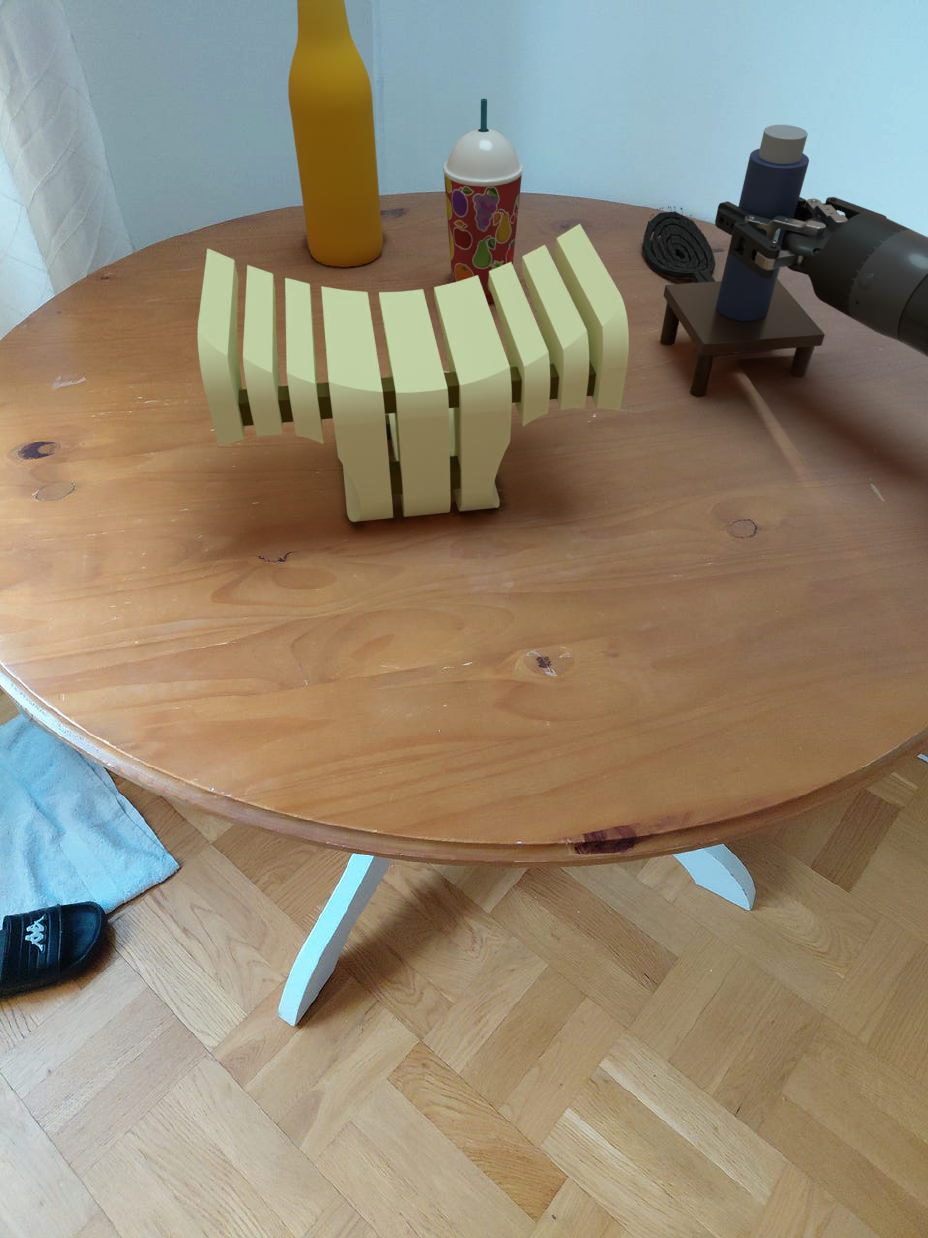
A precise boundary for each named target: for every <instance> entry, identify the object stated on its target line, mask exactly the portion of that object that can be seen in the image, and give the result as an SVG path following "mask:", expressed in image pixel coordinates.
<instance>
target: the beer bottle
mask: <svg viewBox="0 0 928 1238" xmlns="http://www.w3.org/2000/svg"><path fill="white" fill-rule="evenodd" d="M296 6H297V7H296V8H297V9H296V11H297V39H296V45H295V49H294V52H293V55H292V60H291V64H290V68H289V74H288V85H287V91H288V93H287V94H288V105H289V110H290V111H289V112H290V117H291V125H292V131H293V139H294V147H295V152H296V161H297V169H298V176H299V184H300V190H301V191H300V192H301V198H302V199H301V200H302V206H303V212H304V213H303V214H304V220H305V230H306V240H307V241H306V242H307V245H308V249H309V252H310V255H311V256H312V257H313V259H314V260H315V259H316V261H317V262H318V261H319V262H318V263H320V262H321V263H320V264H322V265H325V264H326V265H325V266H328V265H330V266H329V267H333V266H338V267H337V268H351V267H350V266H354V267H358V266H359V267H360V266H362V265H363V266H364V265H367V264H369V263H371V262H373V261H375V260H376V259H378V257H379V256H380V255H381V252H382V250H383V244H384V243H383V242H384V238H383V237H384V236H383V235H384V234H383V226H382V217H381V204H380V190H379V177H378V176H379V175H378V162H377V150H376V148H377V146H376V133H375V122H374V121H375V119H374V106H373V105H374V104H373V102H374V101H373V91H372V86H371V85H372V84H371V81H370V77H369V74H368V70H367V68H366V65H365V63H364V60H363V58H362V56H361V54H360V53H359V50H358V49H357V46H356V44H355V41H354V40H353V37H352V33H351V29H350V25H349V20H348V14H347V9H346V3H345V0H296ZM339 266H341V267H339Z"/></svg>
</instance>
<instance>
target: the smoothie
mask: <svg viewBox="0 0 928 1238" xmlns="http://www.w3.org/2000/svg"><path fill="white" fill-rule="evenodd" d="M442 170H443V171H442V172H443V173H444V174H443V175H444V178H443V179H444V190H445V205H446V206H445V207H446V217H447V231H448V244H449V256H450V257H449V259H450V271H451V283H454V282H458V281H461V280H464V279H468V278H471V277H474V276H477V275H478V277H479V280H480V283H481V286H482V288H483V291H484V294H485V297H486V300H487V303H488V304H490V303H493V302H494V299H493V296H492V293H491V291H490V288H489V271H491V270H493V269H495V268H498V267H500V266H502V265H505V264H507V263H509V262H511V263H512V265H513V266H514V258H515V257H514V256H515V246H516V237H517V227H518V216H519V206H520V197H521V187H522V176H523V171H524V166H523V164H522V162H521V161H520V159H519V157H518V154H517V151H516V149H515V147H514V145H513V144H512V142H511V141H510V139H509V138H508V137H507V136H505V135H504V134H503V133H501V132H499V131H497V130H495V129H492V128H488V98H480V127H479V128H475V129H471V130H469V131H467V132H466V133H464V134H463V135H461V136H460V137H459V138H458V139H457V140H456V142H455V143H454V145H453V147H452V148H451V150H450V153H449V156H448V158H447V160H446V161H445V162H444V164H443V167H442Z"/></svg>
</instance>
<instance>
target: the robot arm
mask: <svg viewBox="0 0 928 1238" xmlns="http://www.w3.org/2000/svg"><path fill="white" fill-rule="evenodd" d="M738 206H739V205H736V204H735V203H732V202H730V201H727V200H726V201H724V202H720V203H719V204H718V206H717V210H716V215H715V220H714V225H715V227H716V228H717V229H719V230H720V231H722V232H724V233H726V234H728V235H730V236H731V238H730V242H729V246H728V250H727V254H728V253H729V254H731V255H732V256H733V257H735V258H736V259H737V260H739V261H740V262H741V263H743V264H744V265H745V266H747V267H748V268H749V269H750V270H752V271H753V272H754V273H756V274H757V275H758V276H760V277H761V278H765V279H770V278H773V275H774V272H775V268H780V269H781V268H785V267H786V268H787V269H789V270H790V271H792V272H795V273H800V274H804V275H807V276H808V278H809V280H810V283H811V287H812V290H813V292H814V295H815V296H816V298H817V299H818V300H819V301H820V302H822V303H824V304H826V305H828V306H830V307H831V308H833V309H835V310H837V311H838V312H840V313H842V314H844V315H846V316H847V317H849V318H851V319H853V320H854V321H856V322H858V323H860V324H861V325H863V326H865V327H867V328H868V329H870V330H872V331H874V332H876V333H878V334H879V335H882V336H885V337H887V338H889V339H892V340H895V341H898V342H899V343H902V344H904V345H905V346H907V347H909V348H910V349H913V350H914V351H916V352H918V353H920V355H923V356H925V357H927V358H928V236H926V235H924V234H922V233H920V232H917V231H915V230H913V229H911V228H910V227H909V228H908V227H907V226H904V225H902V224H900V223H898V222H896V221H894V220H892V219H889V218H887V216H886V215H884V214H882V213H879V212H876V211H873V210H871V209H868V208H866V207H863V206H860V205H857V204H855V203H852V202H849V201H846V200H843V199H841V198H839V197H836V196H829V197H826V200H825V202H824V203H823V202H822V201H821V200H820V199H817V198H814V197H813V198H808V199H806V198H803V197H802V196H799V200H798V204H797V207H796V211H795V215H794V218H793V219H791V218H787V217H783V216H777V217H775V218H774V219H773V220H770V219H767V218H763V217H759V216H755V215H753V214H752V213H750V212H748V211H746V210H744V209H742V208H740V207H738ZM839 212H841V213H843V214H840V213H839ZM757 228H760V229H764V230H766V232H767V235H766V236H764V235H763V234H761V233H760V232H759V231H757V230H756V229H757ZM780 229H786V231H785V233H784V237H783V240H782V244H781V247H780V246H779V245H777V240H778V237H779V233H780Z"/></svg>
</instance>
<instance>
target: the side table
mask: <svg viewBox="0 0 928 1238" xmlns="http://www.w3.org/2000/svg"><path fill="white" fill-rule="evenodd" d="M721 281H722V280H715V282H701V283H694V282H688V283H675V284H665V285H664V291H663V297H664V299H665V300H666V305H665V310H664V311H665V312H664V316H663V322H662V327H661V333H660V340H659V343H660V344H661V345H663V346H665V347H672V346H674V345H675V344H676V341H677V340H676V339H677V335H678V330H679V326H680V325H679V324H680V323H681V326H682V327H683V330H685V332H686V334H687V335H688V337H689V338H690V340H691V342H692V343H693V344H694V346H695V348H696V350H697V352H698V353H697V357H696V362H695V365H694V369H693V370H694V371H693V375H692V379H691V385H690V389H689V394H690V395H691V396H692V397H695V398H704V397H705V396H706V395H707V392H708V388H709V383H710V380H711V374H712V371H713V367H714V362H715V358H716V355H723V354H733V353H735V354H736V353H747V352H760V351H772V350H773V351H774V350H784V349H785V350H786V349H795V351H794V353H793V357H792V361H791V363H790V367H789V369H788V373H789V375H790V376H792V377H795V378H804V377H805V376H806V375H807V372H808V369H809V366H810V363H811V360H812V356H813V353H814V351H815V347H821V346H822V345H823V342H824V339H825V336H826V334H825V333H824V332H823V330H822V329H821V328H820V326H818V324H817V323H816V322H815V321H814V320H813V319H812V318H811V316H810V315H809V314H808V313H807V312H806V311H805V309H804V308H803V307H802V305H801V304H799V302H798V301H797V300H796V299H795V297H794V296H793V295H792V294H791V293H790V291H788V290H787V288H786V287H785V286H784V284H783V283H782V282H781V281H780V280H779V279H778V278H777V281H776V284H775V288H774V292H773V295H772V299H771V302H770V306H769V310H768V313H767V315H766V316H765V317H764V318H762V319H760V320H756V321H738V320H733V319H730V318H727V317H725V316H723V315H722V314H720V313H719V312H718V310H717V308H716V304H717V299H718V295H719V290H720V286H721Z"/></svg>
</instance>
